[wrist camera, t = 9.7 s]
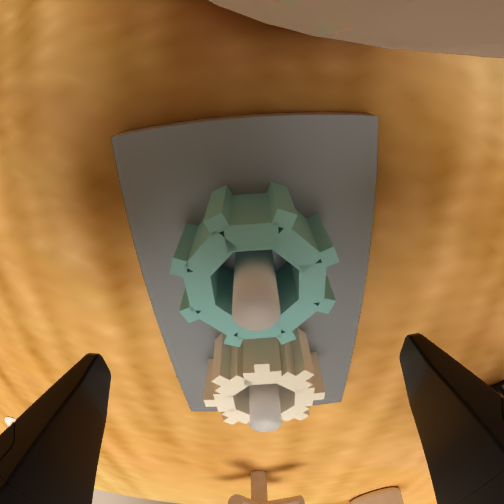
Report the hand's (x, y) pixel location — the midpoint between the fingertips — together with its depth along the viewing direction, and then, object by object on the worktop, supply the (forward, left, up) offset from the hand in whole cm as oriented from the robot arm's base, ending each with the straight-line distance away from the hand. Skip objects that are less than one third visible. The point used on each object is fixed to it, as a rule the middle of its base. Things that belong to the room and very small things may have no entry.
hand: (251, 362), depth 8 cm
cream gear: (0, +8, -7) cm, 10 cm away
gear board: (0, +4, -8) cm, 9 cm away
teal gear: (0, 0, -7) cm, 7 cm away
